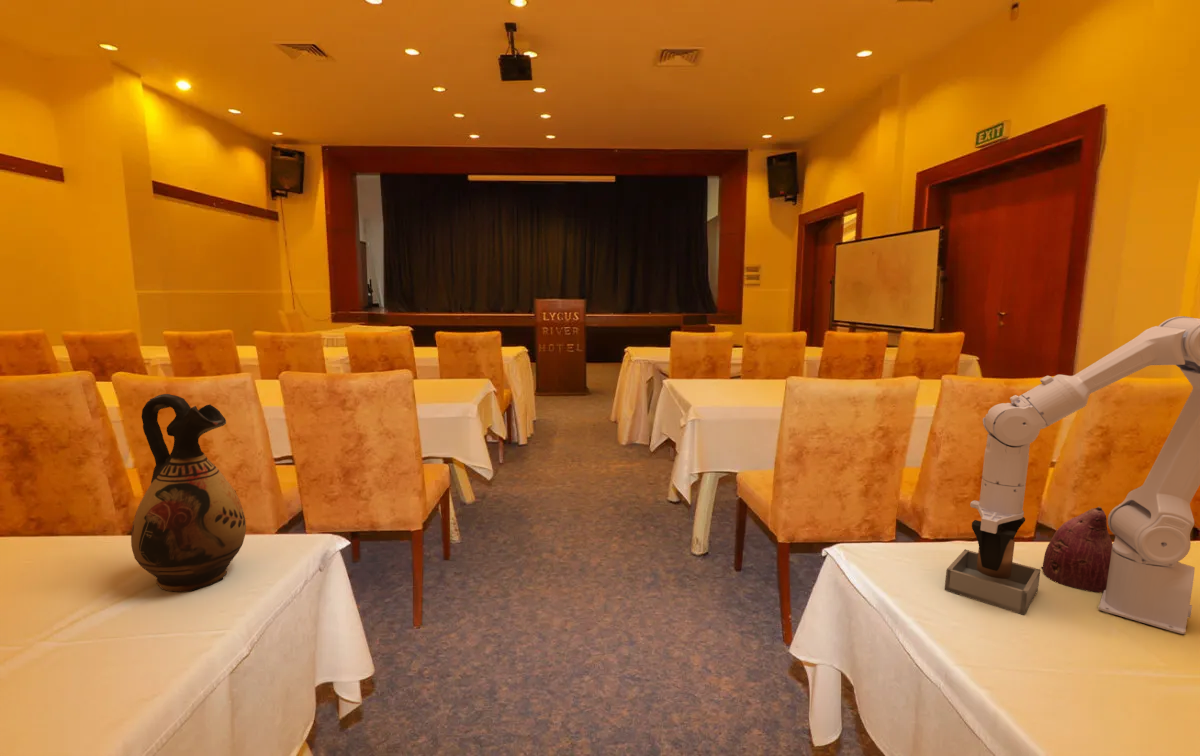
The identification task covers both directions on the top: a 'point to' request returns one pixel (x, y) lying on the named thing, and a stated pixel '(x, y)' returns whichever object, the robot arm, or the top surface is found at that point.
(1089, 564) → the vegetable
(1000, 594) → the grey bin
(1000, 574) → the walnut cylinder
